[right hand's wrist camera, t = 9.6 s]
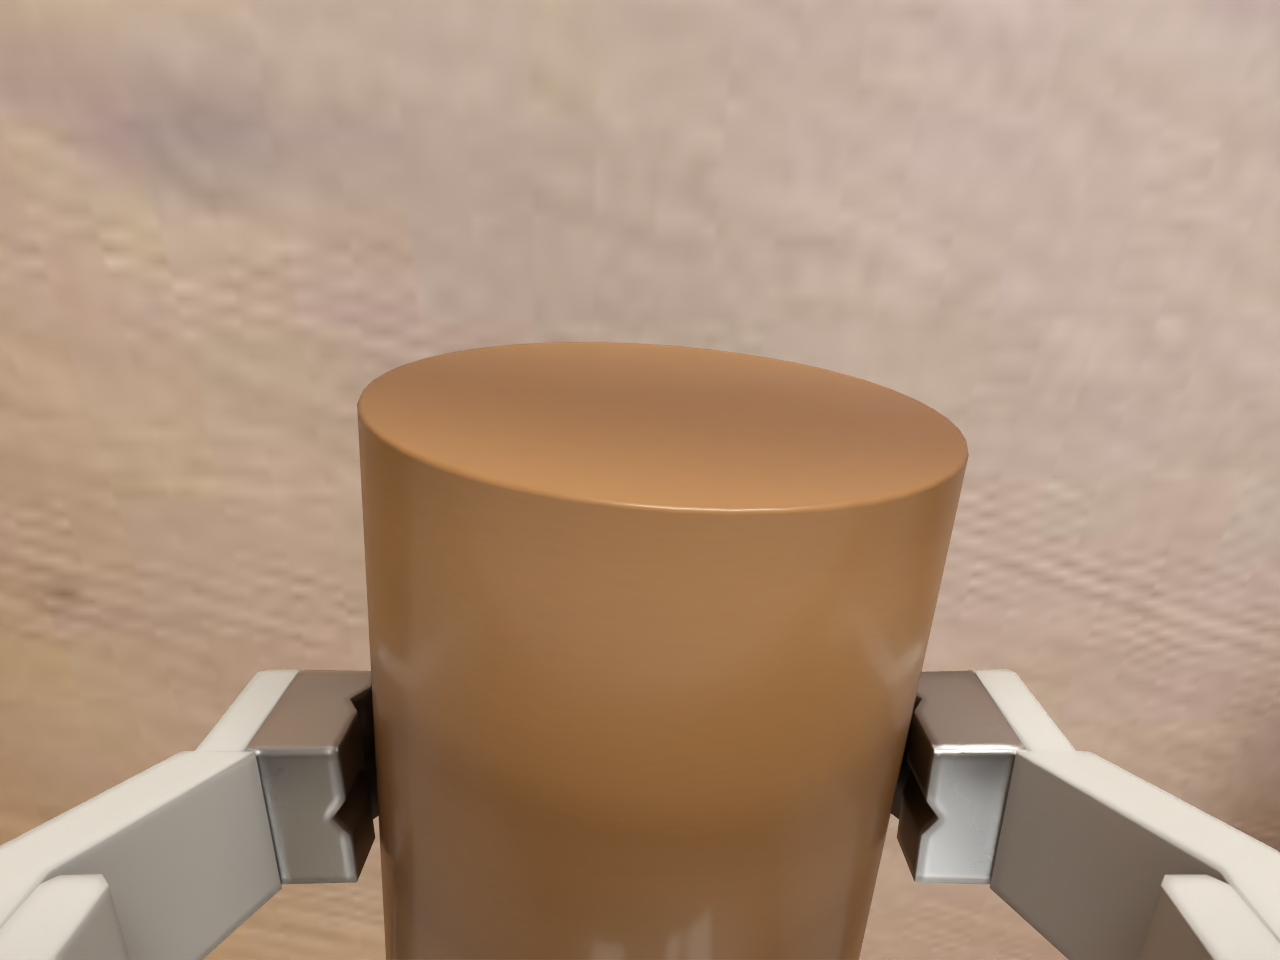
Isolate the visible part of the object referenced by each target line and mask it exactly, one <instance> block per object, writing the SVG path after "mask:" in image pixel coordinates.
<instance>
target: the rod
mask: <svg viewBox="0 0 1280 960" xmlns="http://www.w3.org/2000/svg"><path fill="white" fill-rule="evenodd" d="M357 410H358V429H359V448H360V467H361V486H362V505H363V524H364V544H365V563H366V582H367V601H368V620H369V639H370V658H371V678H372V697H373V716H374V735H375V754H376V773H377V792H378V811H379V831H380V850H381V869H382V888H383V907H384V926H385V945H386V960H859V956H860V952H861V947H862V942H863V938H864V933H865V929H866V924H867V919H868V915H869V910H870V906H871V901H872V896H873V892H874V887H875V883H876V878H877V874H878V869H879V864H880V860H881V855H882V851H883V846H884V841H885V837H886V832H887V828H888V823H889V818H890V814H891V809H892V805H893V800H894V795H895V791H896V786H897V782H898V777H899V772H900V768H901V763H902V759H903V754H904V749H905V745H906V740H907V736H908V731H909V727H910V722H911V717H912V713H913V708H914V704H915V699H916V694H917V690H918V685H919V681H920V676H921V671H922V667H923V662H924V658H925V653H926V648H927V644H928V639H929V635H930V630H931V625H932V621H933V616H934V612H935V607H936V602H937V598H938V593H939V589H940V584H941V580H942V575H943V570H944V566H945V561H946V557H947V552H948V547H949V543H950V538H951V534H952V529H953V524H954V520H955V515H956V511H957V506H958V501H959V497H960V492H961V488H962V483H963V478H964V474H965V469H966V465H967V460H968V448H967V442H966V439H965V438H964V436H963V435H962V433H961V431H960V430H959V429H958V428H957V427H956V426H955V425H954V424H953V423H952V422H951V421H950V420H949V419H948V418H946V417H945V416H943V415H942V414H940V413H939V412H937V411H935V410H934V409H932V408H930V407H929V406H927V405H925V404H923V403H921V402H919V401H917V400H915V399H913V398H911V397H908V396H906V395H904V394H901V393H899V392H896V391H894V390H892V389H889V388H886V387H883V386H880V385H877V384H874V383H872V382H869V381H865V380H862V379H858V378H855V377H852V376H848V375H845V374H841V373H837V372H833V371H829V370H825V369H821V368H817V367H812V366H808V365H803V364H798V363H794V362H788V361H783V360H777V359H772V358H766V357H760V356H754V355H747V354H741V353H733V352H726V351H718V350H710V349H700V348H691V347H680V346H667V345H654V344H636V343H609V342H558V343H533V344H516V345H505V346H494V347H486V348H478V349H470V350H464V351H458V352H452V353H447V354H442V355H438V356H434V357H429V358H425V359H422V360H419V361H415V362H412V363H409V364H406V365H403V366H400V367H398V368H396V369H393V370H391V371H389V372H386V373H385V374H383V375H381V376H380V377H378V378H376V379H375V380H373V381H372V382H371V383H370V384H369V385H368V386H367V387H366V388H365V389H364V390H363V392H362V394H361V396H360V399H359V401H358V403H357Z"/></svg>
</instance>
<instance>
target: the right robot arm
mask: <svg viewBox="0 0 1280 960" xmlns="http://www.w3.org/2000/svg"><path fill="white" fill-rule="evenodd" d="M891 814H893V815H894V816H895V817H897V818H898V819H899V825H898V833H897V839H898V841H899V844H900V846H901V849H902V851H903V854H904V856H905V859H906V861H907V864H908V866H909V869H910V871H911V874H912V876H913V879H914V881H915V882H925V883H960V884H990V889H992V890H993V891H994V892H995V893H996V894H997V895H998V896H999V897H1000V898H1002V899H1003V900H1004V901H1005V902H1006V903H1007V904H1008V905H1009V906H1010V907H1011V908H1013V909H1014V910H1015V911H1016V912H1017V913H1018V914H1019V915H1020V916H1021V917H1022V918H1024V919H1025V920H1026V921H1027V922H1028V923H1029V924H1030V925H1031V926H1032V927H1034V928H1035V929H1036V930H1037V931H1038V932H1039V933H1040V934H1041V935H1042V936H1043V937H1045V938H1046V939H1047V940H1048V941H1049V942H1050V943H1051V944H1052V945H1053V946H1054V947H1056V948H1057V949H1058V950H1059V951H1060V952H1061V953H1062V954H1063V955H1064V956H1066V957H1067V958H1068V959H1069V960H1280V852H1279V851H1277V850H1275V849H1274V848H1272V847H1270V846H1268V845H1266V844H1264V843H1262V842H1260V841H1258V840H1256V839H1255V838H1253V837H1251V836H1249V835H1247V834H1245V833H1243V832H1241V831H1239V830H1238V829H1236V828H1234V827H1232V826H1230V825H1228V824H1226V823H1224V822H1222V821H1220V820H1219V819H1217V818H1215V817H1213V816H1211V815H1209V814H1207V813H1205V812H1203V811H1202V810H1200V809H1198V808H1196V807H1194V806H1192V805H1190V804H1188V803H1186V802H1184V801H1183V800H1181V799H1179V798H1177V797H1175V796H1173V795H1171V794H1169V793H1167V792H1166V791H1164V790H1162V789H1160V788H1158V787H1156V786H1154V785H1152V784H1150V783H1149V782H1147V781H1145V780H1143V779H1141V778H1139V777H1137V776H1135V775H1133V774H1131V773H1130V772H1128V771H1126V770H1124V769H1122V768H1120V767H1118V766H1116V765H1114V764H1113V763H1111V762H1109V761H1107V760H1105V759H1103V758H1101V757H1099V756H1097V755H1095V754H1094V753H1092V752H1090V751H1076V750H1075V749H1074V747H1073V746H1072V745H1071V743H1070V742H1069V741H1068V740H1067V738H1066V737H1065V736H1064V734H1063V733H1062V732H1061V731H1060V729H1059V728H1058V727H1057V725H1056V724H1055V723H1054V722H1053V720H1052V719H1051V718H1050V716H1049V715H1048V714H1047V713H1046V711H1045V710H1044V709H1043V707H1042V706H1041V705H1040V704H1039V702H1038V701H1037V700H1036V698H1035V697H1034V696H1033V694H1032V693H1031V692H1030V691H1029V689H1028V688H1027V687H1026V685H1025V684H1024V683H1023V682H1022V680H1021V679H1020V678H1019V676H1018V675H1017V674H1016V673H1015V672H1013V671H1011V670H1009V669H993V670H968V671H940V672H921V676H920V681H919V685H918V690H917V694H916V699H915V704H914V708H913V713H912V717H911V722H910V727H909V731H908V736H907V740H906V745H905V749H904V754H903V759H902V763H901V768H900V772H899V777H898V782H897V786H896V791H895V795H894V800H893V805H892V809H891ZM378 815H379V811H378V792H377V773H376V754H375V735H374V716H373V697H372V678H371V671H340V670H304V671H303V670H300V669H290V670H263V671H260V672H257V673H256V674H255V675H254V676H253V677H252V679H251V680H250V681H249V683H248V684H247V685H246V686H245V688H244V689H243V690H242V691H241V693H240V694H239V695H238V697H237V698H236V699H235V700H234V702H233V703H232V704H231V705H230V707H229V708H228V709H227V711H226V712H225V713H224V714H223V716H222V717H221V718H220V719H219V721H218V722H217V723H216V724H215V726H214V727H213V728H212V730H211V731H210V732H209V733H208V735H207V736H206V737H205V738H204V740H203V741H202V742H201V744H200V745H199V746H198V747H197V749H196V750H195V751H181V752H179V753H177V754H175V755H173V756H172V757H170V758H168V759H166V760H164V761H162V762H160V763H158V764H156V765H154V766H152V767H150V768H149V769H147V770H145V771H143V772H141V773H139V774H137V775H135V776H133V777H131V778H129V779H127V780H126V781H124V782H122V783H120V784H118V785H116V786H114V787H112V788H110V789H108V790H106V791H104V792H102V793H101V794H99V795H97V796H95V797H93V798H91V799H89V800H87V801H85V802H83V803H81V804H79V805H78V806H76V807H74V808H72V809H70V810H68V811H66V812H64V813H62V814H60V815H58V816H56V817H55V818H53V819H51V820H49V821H47V822H45V823H43V824H41V825H39V826H37V827H35V828H33V829H32V830H30V831H28V832H26V833H24V834H22V835H20V836H18V837H16V838H14V839H12V840H10V841H9V842H7V843H5V844H3V845H1V846H0V960H202V959H203V958H204V957H206V956H207V955H208V954H209V953H210V952H211V951H212V950H213V949H214V948H216V947H217V946H218V945H219V944H220V943H221V942H222V941H223V940H225V939H226V938H227V937H228V936H229V935H230V934H231V933H232V932H233V931H235V930H236V929H237V928H238V927H239V926H240V925H241V924H242V923H244V922H245V921H246V920H247V919H248V918H249V917H250V916H251V915H252V914H254V913H255V912H256V911H257V910H258V909H259V908H260V907H261V906H263V905H264V904H265V903H266V902H267V901H268V900H269V899H270V898H271V897H273V896H274V895H275V894H276V893H277V892H278V891H279V890H280V889H281V884H310V883H345V882H357V881H358V878H359V876H360V873H361V871H362V868H363V866H364V863H365V861H366V859H367V856H368V854H369V851H370V849H371V846H372V844H373V842H374V839H375V832H374V825H373V819H374V818H376V817H377V816H378Z"/></svg>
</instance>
